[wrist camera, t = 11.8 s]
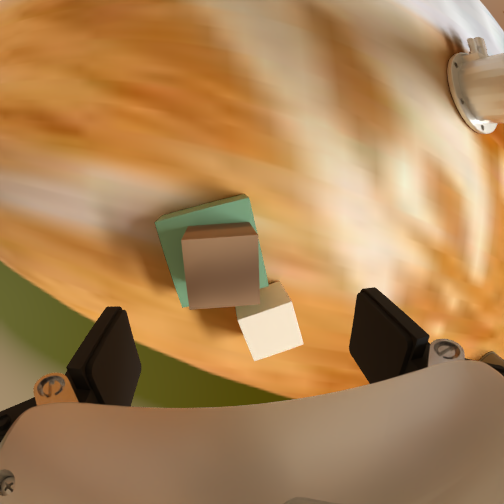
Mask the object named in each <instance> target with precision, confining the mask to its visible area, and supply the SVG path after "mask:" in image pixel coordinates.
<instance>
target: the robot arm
mask: <svg viewBox="0 0 504 504" xmlns="http://www.w3.org/2000/svg"><path fill="white" fill-rule="evenodd" d="M467 42H468V45H469V48H470V52H469V54H467V53H462V52H461V53H457V54H455V55H453V56H452V57H451V58H450V60H449V63H448V69H447V73H448V82H449V87H450V91H451V94H452V97H453V100H454V102H455V105H456V107H457V109H458V111H459V113H460V114H461V116H462V118H463V119H464V120H465V122H466V123H467V124H468V125H469V126H470V128H472V129H473V130H474V131H475V132H478V133H480V134H490V133H491V132H493V131H494V130H495V128H496V126H497V123H504V53H501V54H497V55H492V56H488V54H487V49H486V45H485V42H484V39H483V38H480V37H475V38H474V39H472V38H468V39H467ZM428 339H429V335H428V334H427V333H426V332H425V331H424V330H423V329H422V328H421V327H420V326H418V325H417V324H416V323H415V322H414V321H413V320H412V319H411V318H410V317H409V316H407V315H406V314H405V313H404V312H403V311H402V310H401V309H400V308H398V307H397V306H396V305H395V304H394V303H393V302H392V301H390V300H389V299H388V298H387V297H386V296H385V295H383V294H382V293H381V292H380V291H379V290H378V289H377V288H375V287H374V288H366V289H362V290H361V292H360V293H358V294H357V299H356V306H355V313H354V320H353V327H352V333H351V339H350V344H349V350H350V353H351V355H352V357H353V358H354V360H355V361H356V363H357V364H358V366H359V367H360V369H361V371H362V372H363V374H364V375H365V377H366V378H367V380H368V381H369V383H370V384H368V385H364V386H360V387H356V388H352V389H347V390H343V391H338V392H333V393H328V394H323V395H318V396H312V397H307V398H301V399H294V400H288V401H280V402H272V403H264V404H254V405H244V406H232V407H212V408H148V407H131V403H132V399H133V396H134V392H135V389H136V386H137V382H138V379H139V376H140V373H141V363H140V359H139V356H138V353H137V349H136V346H135V342H134V339H133V335H132V332H131V328H130V324H129V320H128V316H127V312H126V311H125V310H122V308H121V307H106V308H105V310H104V311H103V313H102V314H101V316H100V317H99V318H98V320H97V321H96V323H95V324H94V326H93V327H92V329H91V330H90V332H89V333H88V335H87V336H86V338H85V339H84V341H83V342H82V344H81V345H80V347H79V348H78V350H77V352H76V353H75V355H74V356H73V358H72V359H71V361H70V362H69V364H68V366H67V372H66V374H65V375H64V374H61V373H51V374H47V375H45V376H43V377H41V378H40V379H39V380H38V381H37V382H36V383H35V386H34V396H35V397H34V398H31V399H30V400H27V401H25V402H22V403H20V404H18V405H15V406H13V407H10V408H8V409H6V410H3V411H1V412H0V504H504V367H503V366H501V365H495V364H490V363H485V362H481V361H475V360H471V359H466V358H465V357H464V350H463V348H462V347H461V346H460V345H459V344H458V343H456V342H454V341H452V340H448V339H437V340H435V341H433V342H432V343H431V344H430V343H429V342H428Z"/></svg>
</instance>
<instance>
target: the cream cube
mask: <svg viewBox="0 0 504 504" xmlns="http://www.w3.org/2000/svg"><path fill="white" fill-rule="evenodd" d="M235 308H236V314H237V320H238V322H239V325H240V327H241V330H242V332H243V335H244V337H245V340H246V342H247V345H248V347H249V349H250V352H251V354H252V357H253V359H254V361H256V360H259V359H263V358H266V357H269V356H272V355H274V354H277V353H280V352H283V351H286V350H289V349H292V348H294V347H297V346H300V345H302V344H303V340H302V337H301V333H300V329H299V326H298V322H297V319H296V315H295V311H294V308H293V304H292V301H291V299H290V298H289V296H288V294H287V293H286V291H285V289H284V288H283V286H282V284H281V282H280V281H277V282H275V283H272V284H269V286H268V287H264V288H260V304H257V305H246V306H235Z"/></svg>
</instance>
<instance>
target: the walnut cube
mask: <svg viewBox="0 0 504 504" xmlns="http://www.w3.org/2000/svg"><path fill="white" fill-rule="evenodd" d="M181 243H182V253H183V262H184V271H185V279H186V287H187V295H188V302H189V309H190V310H191V309H207V308H221V307H234V306H246V305H257V304H260V282H259V249H258V234H257V233H256V231H255V230H254V228H253V227H252V225H251V224H250V223H249V222H240V223H224V224H209V225H196V226H188V227H187V229H186V231H185V233H184V235H183V238H182V240H181Z"/></svg>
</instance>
